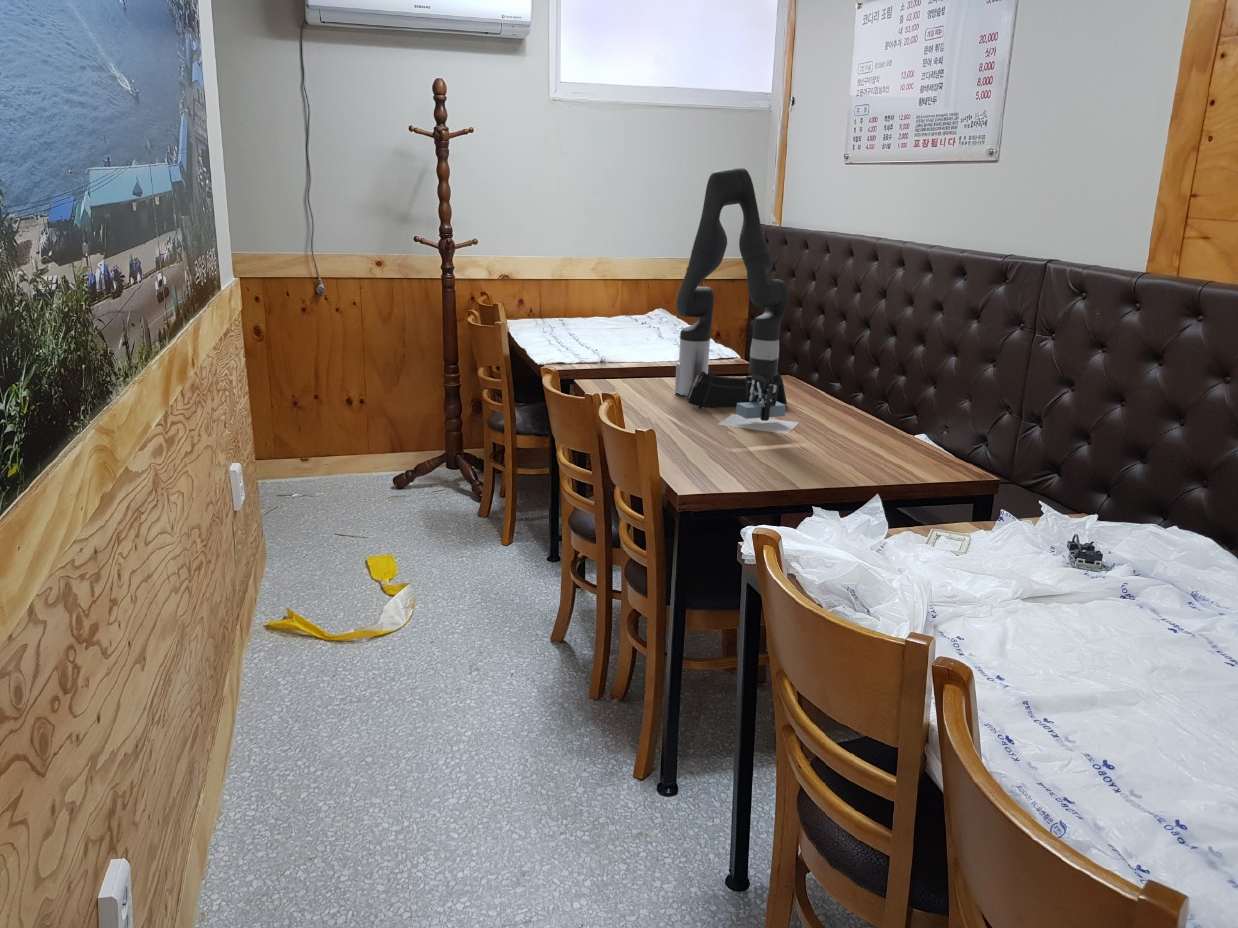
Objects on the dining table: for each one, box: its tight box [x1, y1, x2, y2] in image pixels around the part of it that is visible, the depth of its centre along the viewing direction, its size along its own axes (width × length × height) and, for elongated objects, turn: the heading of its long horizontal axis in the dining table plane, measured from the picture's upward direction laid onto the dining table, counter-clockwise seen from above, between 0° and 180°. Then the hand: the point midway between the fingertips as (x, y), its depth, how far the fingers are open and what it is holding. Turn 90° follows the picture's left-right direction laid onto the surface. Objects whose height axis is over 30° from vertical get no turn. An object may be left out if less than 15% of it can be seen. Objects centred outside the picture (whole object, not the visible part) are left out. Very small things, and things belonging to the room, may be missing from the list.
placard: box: [735, 401, 787, 419], centre depth 240 cm, size 3×6×12 cm
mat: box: [717, 413, 800, 435], centre depth 241 cm, size 19×14×1 cm
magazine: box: [686, 371, 788, 410], centre depth 260 cm, size 17×3×30 cm
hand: (759, 417), depth 240 cm, fingers closed on placard, 5 cm apart
